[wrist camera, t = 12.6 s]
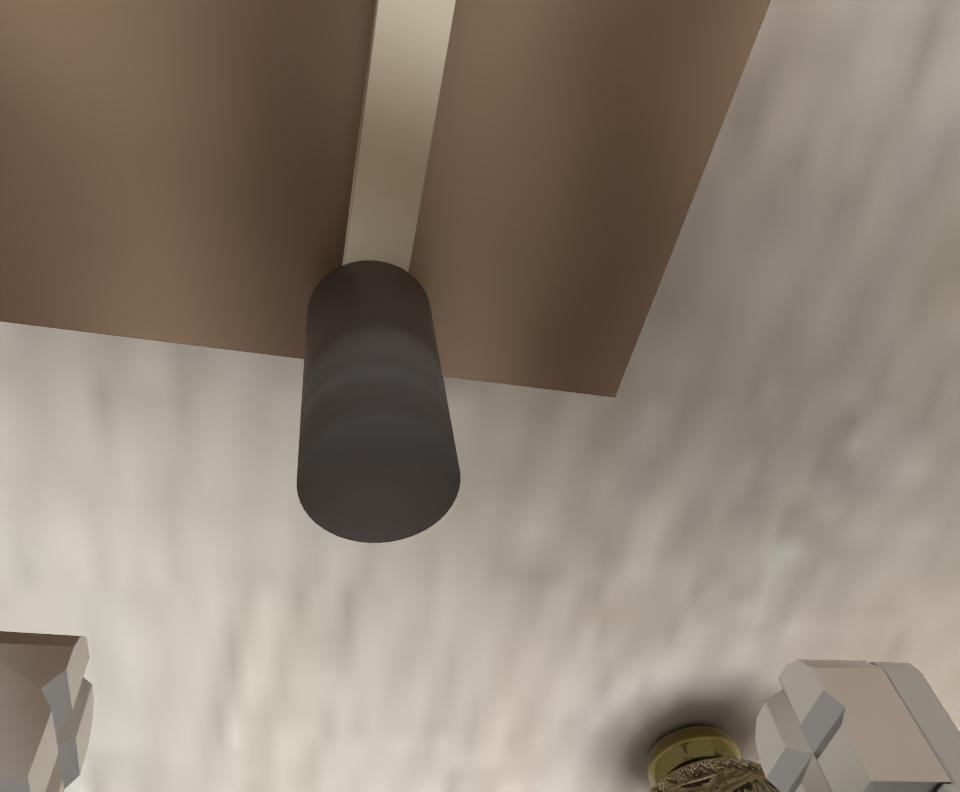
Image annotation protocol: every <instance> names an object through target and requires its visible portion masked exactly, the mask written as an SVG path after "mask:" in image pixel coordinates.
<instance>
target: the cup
mask: <svg viewBox="0 0 960 792" xmlns="http://www.w3.org/2000/svg"><path fill="white" fill-rule="evenodd" d="M647 777H648V780H649V782H650V784H651V785H652V786H653V788H652V789H651V790H650V791H649V792H780V791H779V790H778V789H777V788H776V787H775V786H774V785H773V784H772V783H771V782H769V781H768V780H767V779H766V777H765V774H764V772H763V769H762V767H761V765H759V764H757V763H755V762H752V761H748V760H744V759H741V751H740V748H739V747H738V745H737V744H736V743H735V742H734V740H733V739H732V738H731V737H730V736H729V735H728V734H726V733H725V732H724V731H722V730H720V729H718V728H715V727H711V726H692V727H686V728H683V729H679V730H677V731H674V732H672V733H670V734H668V735H666V736H665V737H663V738H662V739H661V740H659V741H658V742H657V743H656V744H655V745H654V747H653V748H652V750H651V751H650V754H649V757H648V763H647Z"/></svg>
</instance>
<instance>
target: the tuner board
mask: <svg viewBox="0 0 960 792" xmlns="http://www.w3.org/2000/svg"><path fill="white" fill-rule="evenodd" d="M770 1H771V0H456V2H455V7H454V13H453V19H452V25H451V30H450V36H449V42H448V47H447V53H446V59H445V65H444V70H443V76H442V82H441V88H440V93H439V99H438V105H437V111H436V116H435V122H434V128H433V133H432V139H431V145H430V151H429V156H428V162H427V168H426V174H425V179H424V185H423V191H422V197H421V202H420V208H419V214H418V219H417V225H416V231H415V237H414V242H413V248H412V254H411V260H410V265H409V271H408V273H410V274H411V275H412V276H413V277H415V279H416V280H417V281H418V282H419V283H420V284H421V286H422V287H423V288H424V290H425V292H426V294H427V297H428V299H429V303H430V308H431V314H432V319H433V325H434V331H435V336H436V342H437V347H438V353H439V358H440V364H441V370H442V375H443V376H446V377H454V378H462V379H470V380H478V381H486V382H495V383H503V384H511V385H519V386H527V387H535V388H543V389H551V390H559V391H567V392H575V393H583V394H591V395H599V396H607V397H615V396H616V393H617V390H618V388H619V385H620V383H621V380H622V378H623V375H624V373H625V370H626V367H627V365H628V362H629V360H630V357H631V355H632V352H633V350H634V347H635V345H636V342H637V339H638V337H639V334H640V332H641V329H642V327H643V324H644V322H645V319H646V317H647V314H648V311H649V309H650V306H651V304H652V301H653V299H654V296H655V294H656V291H657V289H658V286H659V283H660V281H661V278H662V276H663V273H664V271H665V268H666V266H667V263H668V261H669V258H670V255H671V253H672V250H673V248H674V245H675V243H676V240H677V238H678V235H679V233H680V230H681V227H682V225H683V222H684V220H685V217H686V215H687V212H688V210H689V207H690V205H691V202H692V199H693V197H694V194H695V192H696V189H697V187H698V184H699V182H700V179H701V177H702V174H703V171H704V169H705V166H706V164H707V161H708V159H709V156H710V154H711V151H712V149H713V146H714V143H715V141H716V138H717V136H718V133H719V131H720V128H721V126H722V123H723V121H724V118H725V115H726V113H727V110H728V108H729V105H730V103H731V100H732V98H733V95H734V93H735V90H736V87H737V85H738V82H739V80H740V77H741V75H742V72H743V70H744V67H745V65H746V62H747V59H748V57H749V54H750V52H751V49H752V47H753V44H754V42H755V39H756V37H757V34H758V31H759V29H760V26H761V24H762V21H763V19H764V16H765V14H766V11H767V9H768V6H769V3H770ZM375 2H376V0H0V321H3V322H11V323H19V324H27V325H35V326H43V327H51V328H59V329H67V330H75V331H83V332H91V333H99V334H107V335H115V336H123V337H132V338H140V339H148V340H156V341H164V342H172V343H180V344H188V345H196V346H204V347H212V348H220V349H228V350H236V351H244V352H253V353H261V354H269V355H277V356H285V357H293V358H301V359H304V356H305V339H306V323H307V308H308V303H309V300H310V297H311V294H312V292H313V290H314V289H315V287H316V286H317V284H318V283H319V282H320V281H321V280H322V279H323V278H324V277H325V276H326V275H327V274H329V273H330V272H331V271H333V270H335V269H336V268H338V267H340V266H342V263H343V255H344V248H345V240H346V232H347V224H348V216H349V208H350V200H351V192H352V184H353V176H354V168H355V160H356V152H357V144H358V136H359V129H360V121H361V113H362V105H363V97H364V89H365V81H366V73H367V65H368V57H369V49H370V41H371V33H372V25H373V18H374V10H375Z"/></svg>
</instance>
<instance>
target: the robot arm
mask: <svg viewBox="0 0 960 792" xmlns="http://www.w3.org/2000/svg"><path fill="white" fill-rule="evenodd" d="M88 660H89V651H88V644H87V638H86V637H84V636H69V635H53V634H36V633H19V632H3V631H0V792H64V789H65V788H66V787H67V786H68V785H69V784H70V783H72V782H73V781H74V780H75V779H76V778H77V777H78V776H79V775H80V773H81V769H82V766H83V762H84V759H85V755H86V751H87V748H88V742H89V737H90V731H91V726H92V720H93V700H94V699H93V687H92V684H91V683H90V682H89V681H87V680H86V679H85V678H84V677H83V676H84V673H85V670H86V667H87V663H88ZM779 680H780V682H781V685H782V688H783V690H782V691H781V692H779V693H777V694H776V695H774V696H773V697H771V698H769V699H768V700H766V701H765V703H764V705H763V706H762V708H761V710H760V712H759V714H758V716H757V718H756V730H755V744H756V749H757V754H758V759H759V761H760V764H761V767H762V769H763V772H764V774H765V777H766V779H767V780H768V781H769V782H771V783H772V784H773V785H774V786H775V787H776V788H777V789H778V790H779V791H780V792H960V732H959V730H958V729H957V727H956V726H955V724H954V723H953V721H952V720H951V718H950V717H949V715H948V713H947V712H946V710H945V709H944V707H943V706H942V704H941V703H940V701H939V700H938V698H937V696H936V695H935V693H934V692H933V690H932V689H931V687H930V686H929V684H928V683H927V681H926V679H925V678H924V676H923V675H922V674H921V673H920V671H919V670H917V669H916V668H915V667H913V666H912V665H911V664H910V663H889V662H867V661H850V660H798V659H797V660H795V661H794V662H792V663H790V664H788V665H787V666H786V667H785V669H784V671H783V672H782V674H781V676H780V677H779Z"/></svg>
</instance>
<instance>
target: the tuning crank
mask: <svg viewBox="0 0 960 792" xmlns="http://www.w3.org/2000/svg"><path fill="white" fill-rule="evenodd" d="M455 2H456V0H376V2H375V10H374V18H373V25H372V33H371V41H370V49H369V57H368V65H367V73H366V81H365V89H364V97H363V105H362V113H361V121H360V129H359V136H358V144H357V152H356V160H355V168H354V176H353V184H352V192H351V200H350V208H349V216H348V224H347V232H346V240H345V248H344V255H343V263H342V266H340V267H338V268H336V269H335V270H333V271H331V272H330V273H329V274H327V275H326V276H325V277H324V278H323V279H322V280H321V281H320V282H319V283H318V284H317V286H316V287H315V289H314V290H313V292H312V294H311V297H310V300H309V303H308V308H307V323H306V339H305V356H304V372H303V389H302V405H301V421H300V438H299V454H298V471H297V491H298V496H299V499H300V502H301V504H302V506H303V508H304V510H305V511H306V513H307V514H308V515H309V517H310V518H311V519H312V520H313V521H314V522H315V523H317V524H318V525H319V526H321V527H322V528H323V529H325V530H327V531H328V532H330V533H332V534H334V535H337V536H339V537H342V538H345V539H349V540H353V541H358V542H367V543H381V542H391V541H396V540H401V539H404V538H408V537H411V536H413V535H416V534H418V533H420V532H422V531H424V530H426V529H428V528H429V527H431V526H432V525H434V524H435V523H436V522H437V521H439V520H440V519H441V518H442V517H443V516H444V515H445V514H446V513H447V512H448V510H449V509H450V507H451V506H452V505H453V503H454V501H455V499H456V497H457V494H458V491H459V486H460V470H459V464H458V459H457V453H456V447H455V442H454V436H453V431H452V425H451V420H450V414H449V409H448V403H447V397H446V392H445V386H444V381H443V375H442V370H441V364H440V358H439V353H438V347H437V342H436V336H435V331H434V325H433V319H432V314H431V308H430V303H429V299H428V297H427V294H426V292H425V290H424V288H423V287H422V286H421V284H420V283H419V282H418V281H417V280H416V279H415V277H413V276H412V275H411V274H410V273H408V271H409V265H410V260H411V254H412V248H413V242H414V237H415V231H416V225H417V219H418V214H419V208H420V202H421V197H422V191H423V185H424V179H425V174H426V168H427V162H428V156H429V151H430V145H431V139H432V133H433V128H434V122H435V116H436V111H437V105H438V99H439V93H440V88H441V82H442V76H443V70H444V65H445V59H446V53H447V47H448V42H449V36H450V30H451V25H452V19H453V13H454V7H455Z"/></svg>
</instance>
